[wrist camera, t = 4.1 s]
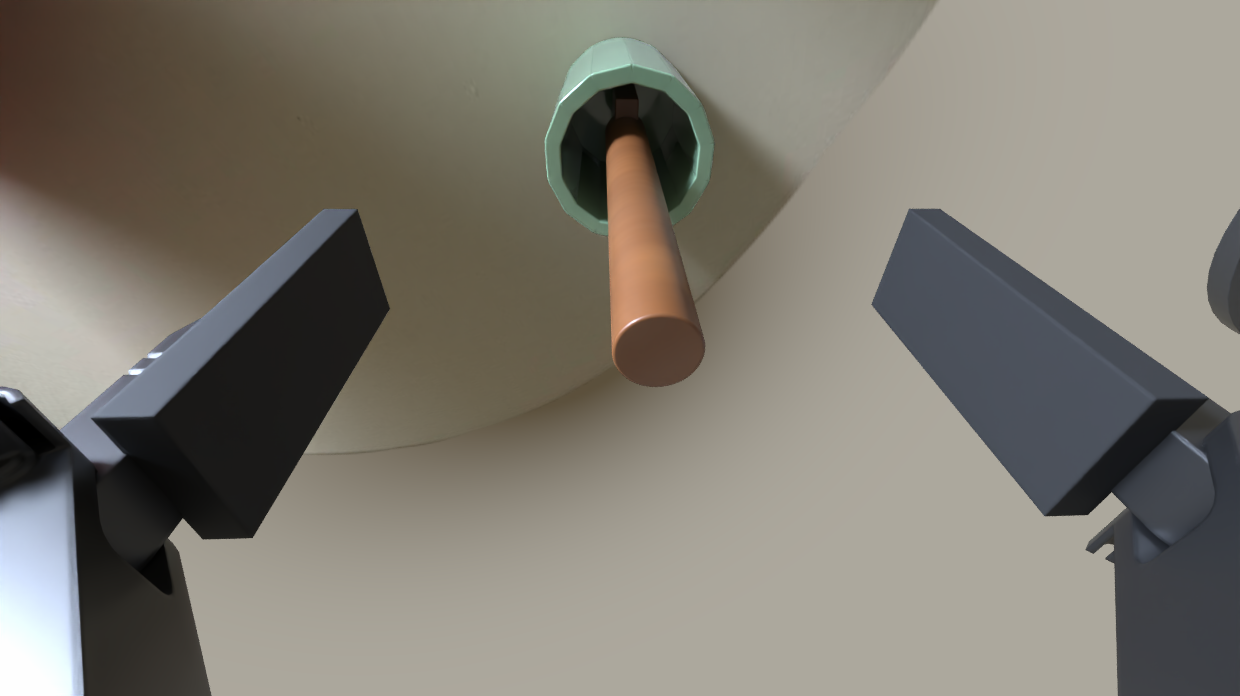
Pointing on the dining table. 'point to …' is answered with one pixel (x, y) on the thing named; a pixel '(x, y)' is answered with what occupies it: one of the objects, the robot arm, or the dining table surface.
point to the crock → (663, 110)
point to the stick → (645, 260)
